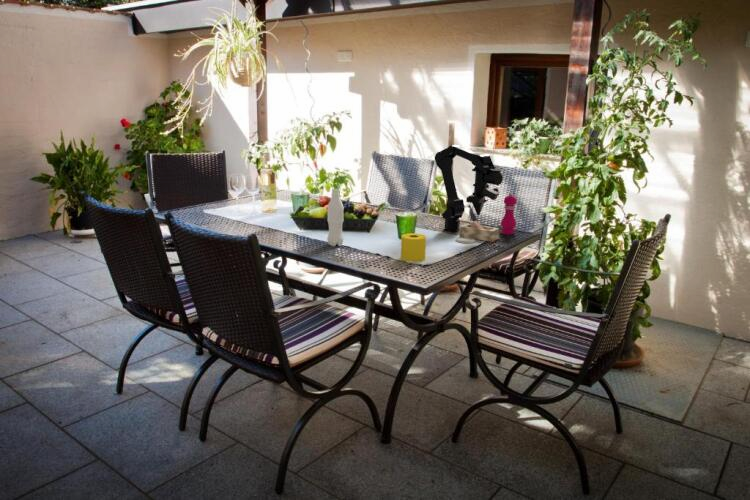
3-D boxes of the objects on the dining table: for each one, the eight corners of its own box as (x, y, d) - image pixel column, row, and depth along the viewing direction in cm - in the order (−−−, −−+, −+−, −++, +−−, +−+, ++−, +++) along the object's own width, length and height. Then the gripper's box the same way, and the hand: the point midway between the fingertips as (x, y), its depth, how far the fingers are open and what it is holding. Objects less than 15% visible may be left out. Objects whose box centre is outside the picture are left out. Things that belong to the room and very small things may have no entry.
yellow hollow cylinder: (407, 262, 246) (408, 240, 244) (396, 256, 255) (397, 234, 253) (429, 260, 250) (430, 238, 248) (418, 254, 259) (418, 232, 257)
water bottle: (346, 244, 273) (346, 188, 266) (339, 247, 266) (340, 191, 259) (331, 242, 275) (331, 187, 268) (324, 246, 268) (324, 189, 262)
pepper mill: (515, 235, 295) (518, 194, 289) (500, 234, 296) (503, 193, 291) (515, 231, 301) (518, 191, 296) (500, 230, 303) (503, 190, 297)
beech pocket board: (459, 236, 290) (460, 226, 288) (465, 233, 296) (466, 223, 294) (492, 241, 281) (493, 231, 280) (498, 238, 288) (499, 228, 286)
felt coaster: (452, 241, 281) (452, 240, 280) (460, 237, 288) (460, 236, 288) (471, 244, 276) (471, 243, 276) (478, 240, 284) (478, 239, 283)
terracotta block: (469, 225, 287) (473, 221, 286) (473, 223, 291) (476, 220, 290) (483, 239, 286) (486, 235, 284) (486, 237, 289) (489, 234, 288)
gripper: (490, 186, 270) (487, 221, 275) (504, 181, 286) (501, 213, 290) (467, 184, 276) (464, 217, 280) (481, 178, 291) (479, 210, 296)
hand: (478, 214), depth 286 cm, fingers closed
